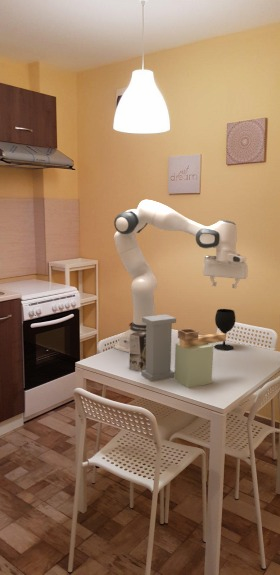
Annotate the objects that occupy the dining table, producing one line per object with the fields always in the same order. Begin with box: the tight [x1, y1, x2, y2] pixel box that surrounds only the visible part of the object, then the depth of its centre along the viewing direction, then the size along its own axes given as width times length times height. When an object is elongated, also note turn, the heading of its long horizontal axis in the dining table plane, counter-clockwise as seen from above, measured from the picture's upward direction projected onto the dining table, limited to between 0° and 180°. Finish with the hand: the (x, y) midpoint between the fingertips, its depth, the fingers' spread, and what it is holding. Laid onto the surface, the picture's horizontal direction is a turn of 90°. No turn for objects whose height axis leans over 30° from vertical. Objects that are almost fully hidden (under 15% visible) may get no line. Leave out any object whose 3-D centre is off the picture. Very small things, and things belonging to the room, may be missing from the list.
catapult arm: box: [177, 327, 227, 348], centre depth 187 cm, size 22×6×6 cm, turn 119°
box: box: [174, 342, 214, 389], centre depth 187 cm, size 12×10×16 cm
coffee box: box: [128, 330, 146, 372], centre depth 203 cm, size 9×6×16 cm
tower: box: [140, 314, 177, 382], centre depth 191 cm, size 12×8×26 cm, turn 119°
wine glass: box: [213, 308, 236, 352], centre depth 234 cm, size 10×10×20 cm
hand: (224, 287), depth 203 cm, fingers open, 8 cm apart
